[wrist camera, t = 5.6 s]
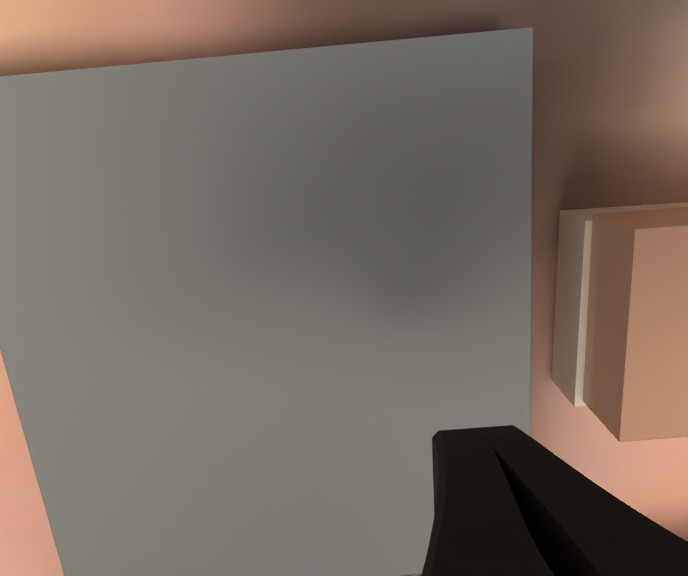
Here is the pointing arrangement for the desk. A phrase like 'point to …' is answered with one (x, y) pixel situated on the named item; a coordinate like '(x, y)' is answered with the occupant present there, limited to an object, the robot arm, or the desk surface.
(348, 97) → the slate plate
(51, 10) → the desk surface
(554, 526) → the robot arm
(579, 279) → the beige square tray
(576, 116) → the desk surface
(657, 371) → the terracotta tile
